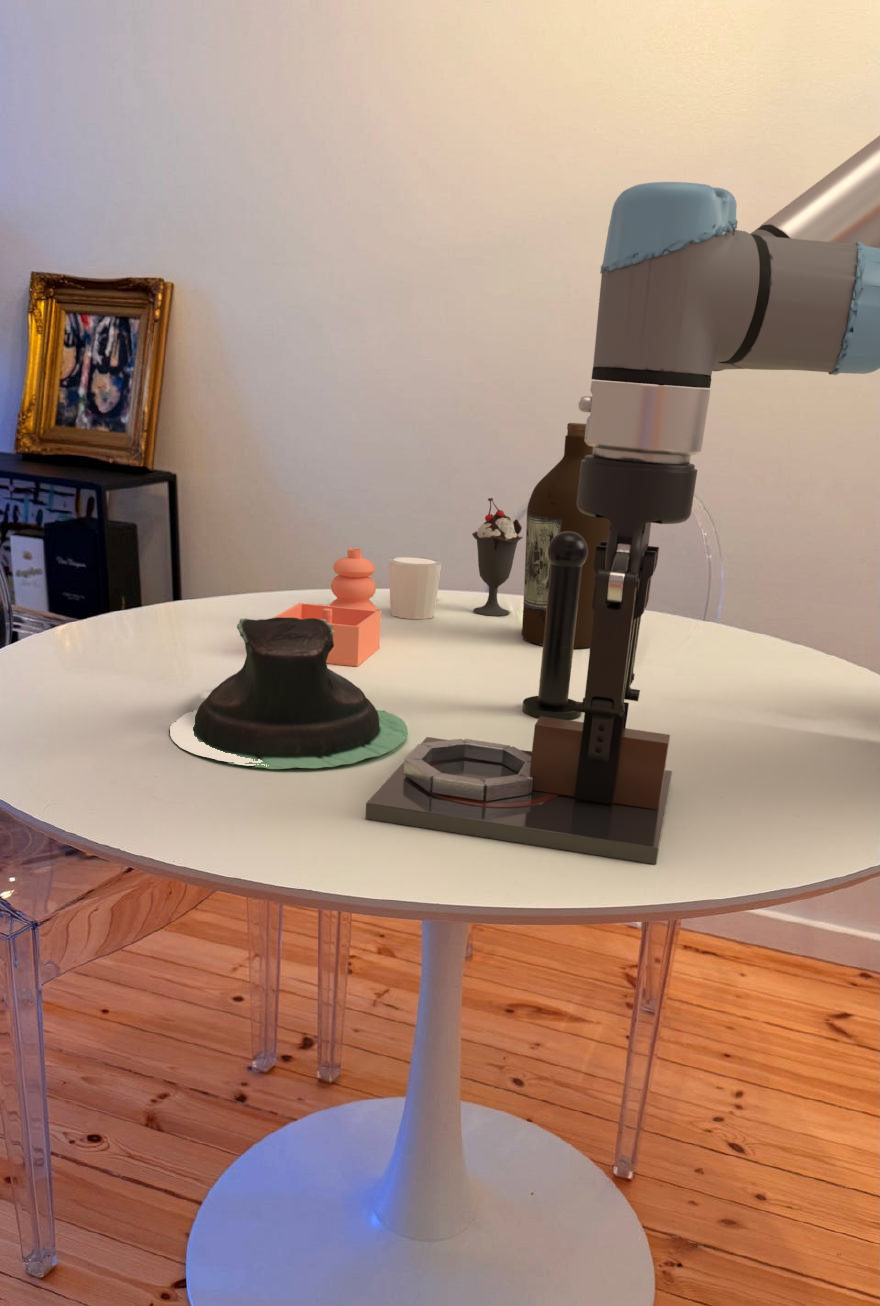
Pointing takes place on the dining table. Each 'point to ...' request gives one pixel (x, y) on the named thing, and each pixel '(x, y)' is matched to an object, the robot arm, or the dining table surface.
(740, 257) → the robot arm
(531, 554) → the olive oil
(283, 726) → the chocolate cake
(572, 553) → the black knobbed post
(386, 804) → the stove
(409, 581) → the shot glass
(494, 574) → the sundae
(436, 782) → the ring with block handle
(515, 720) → the dining table surface
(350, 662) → the pottery
